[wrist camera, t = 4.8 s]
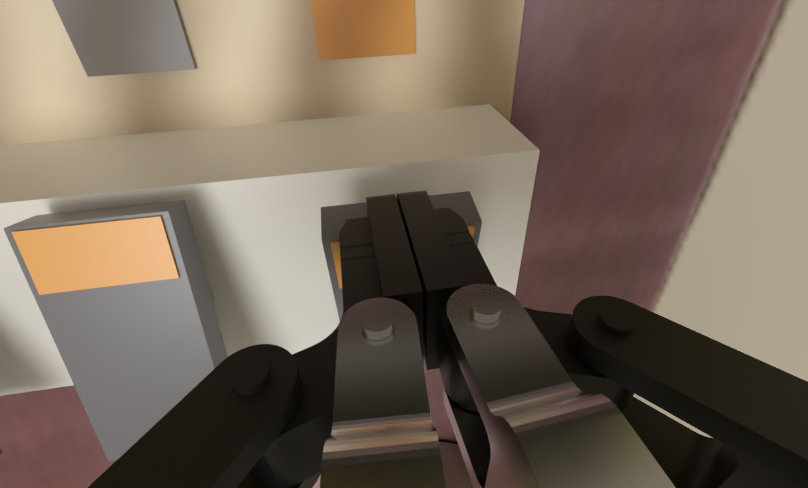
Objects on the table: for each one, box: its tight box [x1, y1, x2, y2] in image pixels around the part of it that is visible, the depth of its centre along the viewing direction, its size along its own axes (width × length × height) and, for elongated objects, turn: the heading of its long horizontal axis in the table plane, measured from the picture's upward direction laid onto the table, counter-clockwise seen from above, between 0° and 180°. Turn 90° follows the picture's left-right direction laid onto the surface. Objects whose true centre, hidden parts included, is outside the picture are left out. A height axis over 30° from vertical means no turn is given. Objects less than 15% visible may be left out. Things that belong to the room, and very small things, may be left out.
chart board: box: [0, 0, 525, 146], centre depth 16 cm, size 28×16×1 cm, turn 92°
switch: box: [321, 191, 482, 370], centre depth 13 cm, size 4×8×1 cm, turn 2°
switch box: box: [0, 104, 540, 396], centre depth 16 cm, size 26×8×6 cm, turn 92°
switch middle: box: [3, 200, 228, 461], centre depth 12 cm, size 4×8×1 cm, turn 2°
